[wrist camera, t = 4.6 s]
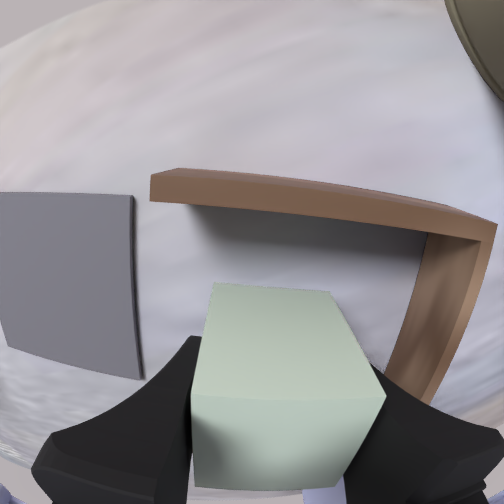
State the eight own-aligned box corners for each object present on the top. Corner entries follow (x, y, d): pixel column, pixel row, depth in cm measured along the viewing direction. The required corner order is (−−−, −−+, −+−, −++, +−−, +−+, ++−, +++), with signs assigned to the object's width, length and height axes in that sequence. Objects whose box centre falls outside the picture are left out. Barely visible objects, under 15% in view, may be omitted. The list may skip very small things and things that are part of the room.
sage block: (307, 378, 13) (335, 486, 8) (209, 373, 13) (195, 486, 7) (329, 291, 12) (386, 396, 6) (214, 281, 12) (190, 393, 6)
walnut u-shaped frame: (382, 401, 17) (403, 445, 13) (176, 397, 16) (164, 449, 12) (445, 204, 13) (497, 224, 9) (178, 168, 12) (150, 174, 9)
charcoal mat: (142, 375, 16) (140, 380, 15) (10, 342, 15) (7, 345, 15) (132, 195, 13) (129, 196, 12) (-16, 192, 12) (-20, 193, 12)
